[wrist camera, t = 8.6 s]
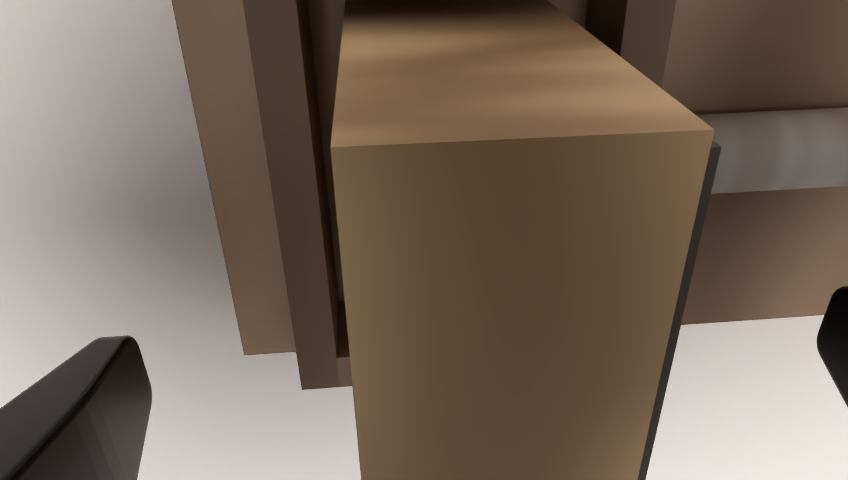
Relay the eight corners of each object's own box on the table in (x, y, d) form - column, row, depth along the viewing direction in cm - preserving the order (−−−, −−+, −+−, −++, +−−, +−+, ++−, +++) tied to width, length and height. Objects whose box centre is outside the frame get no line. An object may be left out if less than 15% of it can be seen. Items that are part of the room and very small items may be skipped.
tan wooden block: (560, -7, 12) (755, 127, 6) (538, 265, 15) (653, 531, 9) (345, 0, 12) (331, 147, 6) (365, 275, 15) (368, 557, 9)
